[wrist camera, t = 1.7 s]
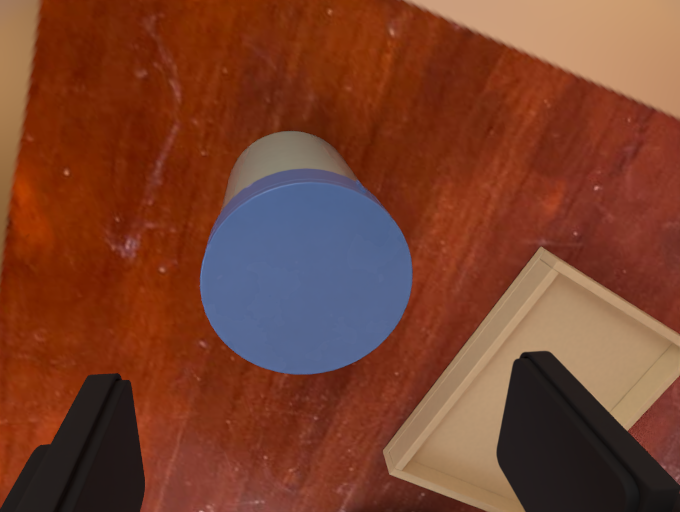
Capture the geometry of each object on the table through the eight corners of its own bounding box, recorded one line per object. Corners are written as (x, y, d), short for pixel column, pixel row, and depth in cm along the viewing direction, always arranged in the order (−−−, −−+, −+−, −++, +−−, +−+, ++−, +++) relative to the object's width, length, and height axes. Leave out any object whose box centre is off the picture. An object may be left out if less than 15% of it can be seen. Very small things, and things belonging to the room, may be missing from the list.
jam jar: (266, 105, 25) (269, 144, 15) (376, 172, 27) (441, 243, 17) (205, 216, 26) (172, 316, 17) (313, 271, 28) (339, 388, 19)
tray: (540, 245, 30) (559, 259, 28) (678, 333, 34) (703, 350, 32) (382, 450, 34) (389, 474, 32) (521, 506, 38) (535, 530, 37)
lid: (268, 126, 16) (269, 136, 14) (436, 226, 18) (455, 245, 17) (171, 298, 18) (162, 326, 16) (335, 371, 20) (342, 401, 18)
